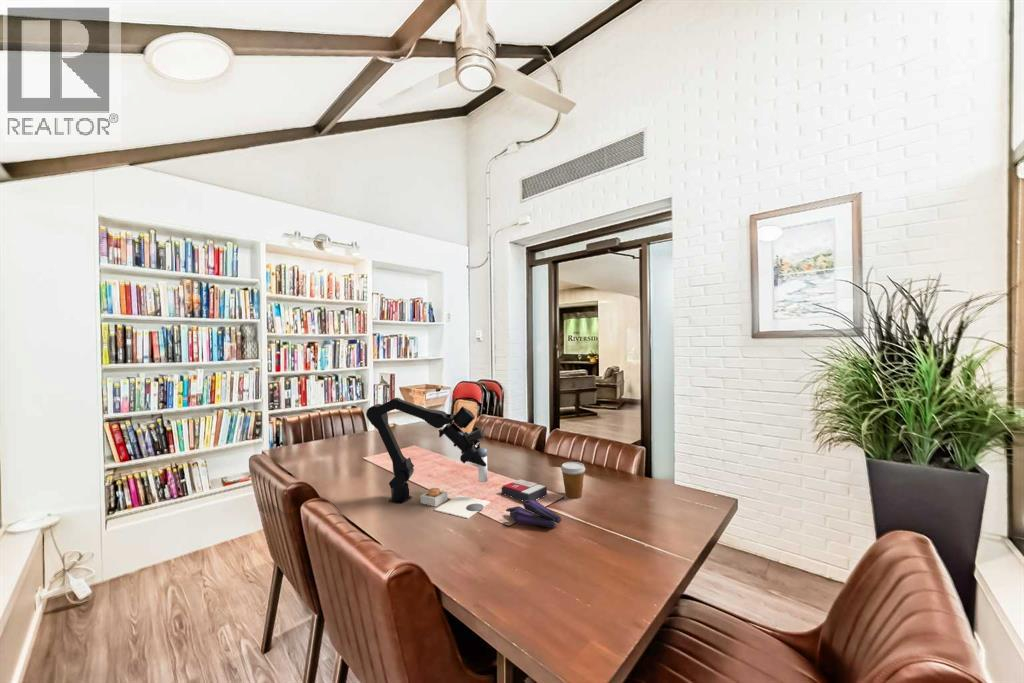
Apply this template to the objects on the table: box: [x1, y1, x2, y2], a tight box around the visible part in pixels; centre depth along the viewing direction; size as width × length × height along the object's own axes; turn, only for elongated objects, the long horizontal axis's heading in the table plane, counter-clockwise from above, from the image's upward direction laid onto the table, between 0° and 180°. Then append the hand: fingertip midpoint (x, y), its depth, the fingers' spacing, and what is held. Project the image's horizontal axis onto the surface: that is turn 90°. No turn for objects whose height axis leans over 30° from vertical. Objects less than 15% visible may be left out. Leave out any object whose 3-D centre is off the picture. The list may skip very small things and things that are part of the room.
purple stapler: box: [505, 499, 562, 530], centre depth 138 cm, size 7×12×20 cm
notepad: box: [434, 494, 491, 519], centre depth 152 cm, size 16×15×1 cm
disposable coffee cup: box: [560, 461, 586, 500], centre depth 159 cm, size 10×10×12 cm
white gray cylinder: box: [477, 447, 489, 483], centre depth 159 cm, size 4×4×12 cm
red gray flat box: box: [501, 479, 548, 501], centre depth 162 cm, size 11×4×15 cm
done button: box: [427, 487, 441, 497], centre depth 157 cm, size 4×4×2 cm
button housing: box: [420, 490, 448, 508], centre depth 157 cm, size 7×7×3 cm
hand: (486, 464), depth 159 cm, fingers closed on white gray cylinder, 4 cm apart
